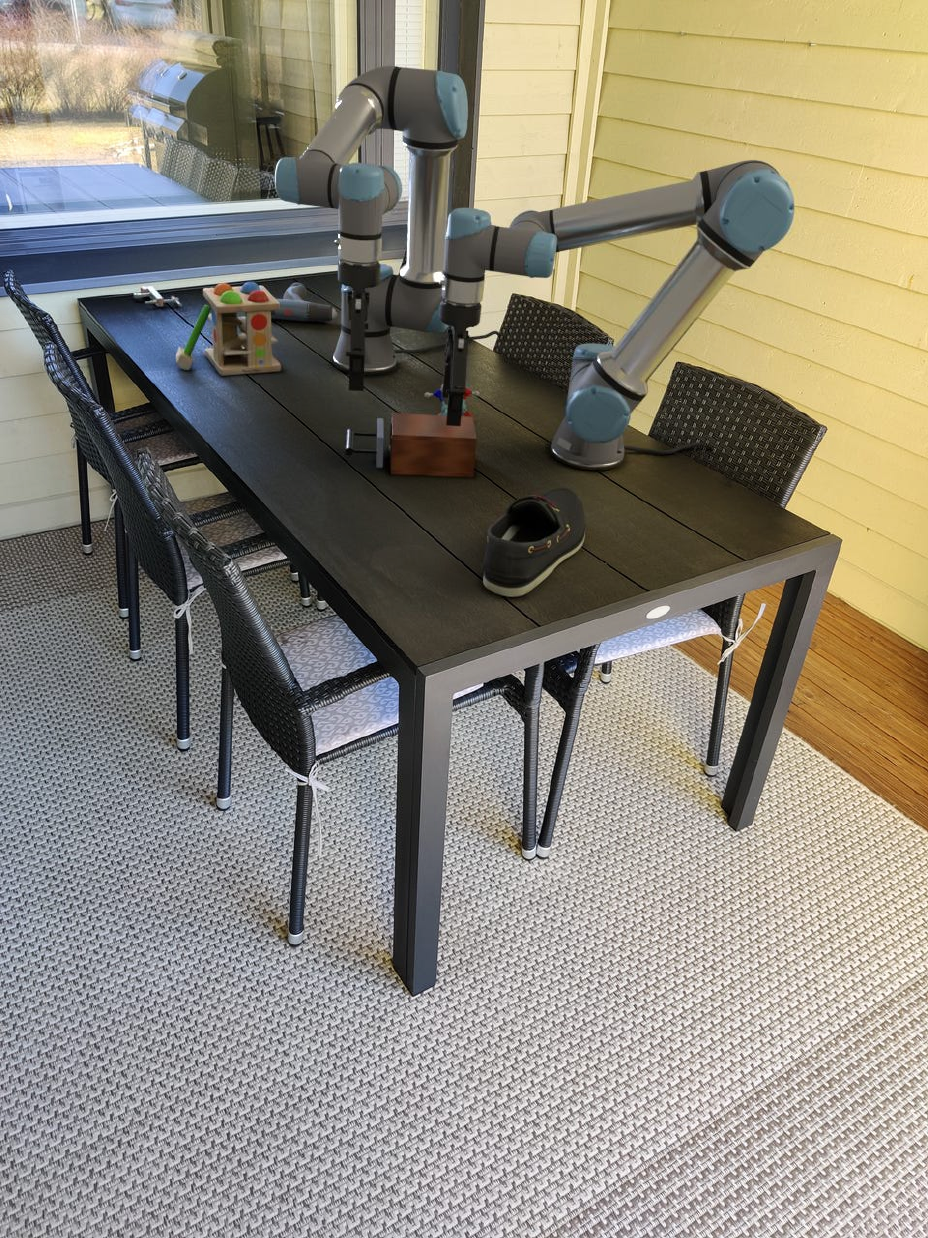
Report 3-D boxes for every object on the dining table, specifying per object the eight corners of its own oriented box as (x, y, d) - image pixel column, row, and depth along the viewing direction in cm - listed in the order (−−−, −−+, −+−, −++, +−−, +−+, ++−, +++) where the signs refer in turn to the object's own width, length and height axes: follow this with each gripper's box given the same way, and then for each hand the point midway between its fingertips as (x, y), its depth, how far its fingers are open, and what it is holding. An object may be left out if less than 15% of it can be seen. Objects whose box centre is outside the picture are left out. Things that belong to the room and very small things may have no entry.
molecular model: (472, 422, 205) (456, 376, 203) (432, 437, 208) (416, 391, 207) (488, 419, 215) (474, 375, 214) (450, 433, 219) (435, 390, 218)
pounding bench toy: (183, 379, 220) (176, 299, 210) (169, 357, 231) (162, 280, 221) (282, 371, 230) (280, 294, 220) (264, 350, 240) (262, 276, 230)
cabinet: (390, 473, 190) (392, 434, 186) (390, 450, 199) (391, 412, 194) (473, 477, 192) (476, 438, 187) (468, 454, 201) (472, 416, 196)
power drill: (344, 304, 276) (335, 327, 259) (277, 298, 275) (264, 321, 258) (344, 285, 273) (335, 306, 256) (277, 279, 272) (264, 300, 255)
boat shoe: (609, 530, 179) (617, 478, 174) (520, 603, 155) (525, 545, 150) (547, 511, 185) (553, 460, 179) (452, 578, 161) (455, 522, 155)
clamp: (129, 286, 265) (166, 284, 270) (130, 295, 267) (167, 292, 271) (144, 303, 255) (182, 300, 259) (145, 312, 256) (183, 309, 261)
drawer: (344, 466, 189) (345, 435, 186) (345, 445, 197) (346, 416, 194) (452, 470, 192) (455, 440, 188) (449, 450, 199) (452, 421, 196)
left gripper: (339, 241, 183) (338, 352, 194) (335, 278, 162) (334, 400, 174) (380, 244, 183) (376, 354, 195) (381, 281, 163) (376, 402, 175)
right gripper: (437, 279, 187) (428, 385, 199) (444, 320, 167) (434, 436, 179) (476, 282, 188) (465, 387, 200) (488, 324, 168) (475, 438, 180)
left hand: (356, 376), depth 185 cm, fingers open, 13 cm apart
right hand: (450, 410), depth 190 cm, fingers open, 13 cm apart
